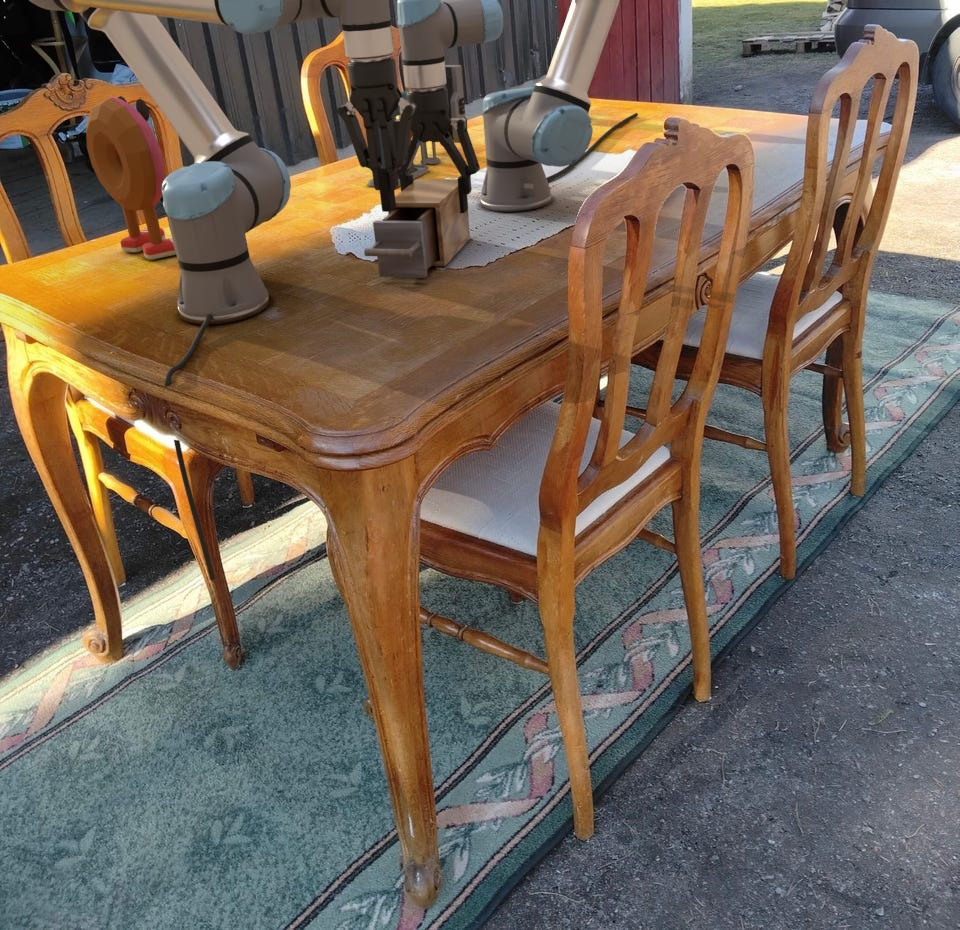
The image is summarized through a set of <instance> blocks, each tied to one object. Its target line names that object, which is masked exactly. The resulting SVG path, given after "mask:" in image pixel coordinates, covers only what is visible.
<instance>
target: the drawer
mask: <svg viewBox="0 0 960 930" xmlns="http://www.w3.org/2000/svg"><path fill="white" fill-rule="evenodd" d="M372 227H373V234H374V242H375V243H373V245H371V246H370V247H369V248H367V247H366V248H364V250H363V251H364V252H363V255H364V256H365V257H377V265H378V273H379V277H380V278H406V279H407V278H409V279H410V278H411V279H426V278H428V276H429V274H428V270H429V269H430V268H431V267H432V266H431V265H432V264H433V263H434V262H435V261H436V260H437V259H438V258H439V257H440V254H439V243H438V233H437V222H436V211H435V208H425V207H397V208H396V209H395V210H394V211H392V212H391V213H390V214H389V213H388V214H387V215H386V216H384V218H382V220H374V221H372Z"/></svg>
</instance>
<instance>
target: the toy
mask: <svg viewBox="0 0 960 930" xmlns="http://www.w3.org/2000/svg"><path fill="white" fill-rule="evenodd" d="M149 120H150V110H149V107H148V106H147V103H146V101H144V100H143V99H142V98H138V99H136V102H135V107H134V106H133V105H132V104H130V103H128V101H127V99H126V98H125V97H124V96H122V95H120V96H117V97H116V96H110V97H108V98H106V99H104V100H102V101H100V102H99V103H96V104H95V105H93V106H92V107H91V109H90V111H89V114H88V117H87V121H86V127H85V128H86V130H85V135H86V136H85V137H86V138H85V139H86V149H87V153H88V156H89V160H90V163H91V167H92V169H93V170H94V173H95V175H96V177H97V179H98V181H99V183H100V184H101V185H102V187H103V188H104V189H105V191H106V192H107V193H108V195H109V196H110V197H111V198H112V199H113V200H114V201H115V202H116V203H117V204H119V205H120V206H121V209H122V213H123V216H124V220H125V224H126V229H127V233H128V236H126V237H123V238H121V240H120V248H121V250H122V251H123V252H125V253H140V252H142V251H143V255H144V257H145V259H147V260H149V261H152V260H157V259H162V258H163V259H164V258H167V257H171V256H177V255H176V251H175V247H174V243H173V239H172V237H169V238H166V234H165V233H166V232H165V230H164V229H163V228H161V227H160V222H159V217H158V214H157V209H156V206H157V205H159V202H160V200H161V199H162V198H163V195H162V184H163V181H164V180H165V178H166V177H165V162H164V158H163V153H162V150H161V146H160V144H159V142H158V139H157V136H156V135H155V132H154V131H153V129H152V127H151V126H150V124H149V123H148V122H149ZM137 211H142V212H143V216H144V222H145V224H146V228H144V229H140V224H139V220H138V214H137Z"/></svg>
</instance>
